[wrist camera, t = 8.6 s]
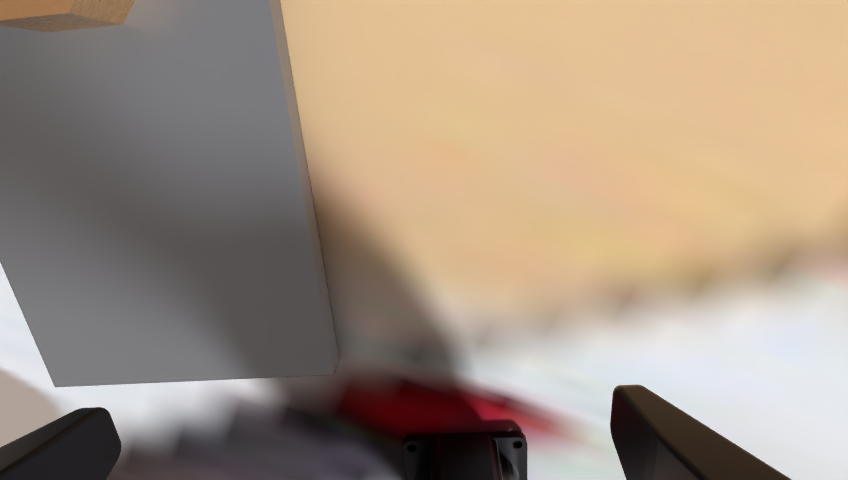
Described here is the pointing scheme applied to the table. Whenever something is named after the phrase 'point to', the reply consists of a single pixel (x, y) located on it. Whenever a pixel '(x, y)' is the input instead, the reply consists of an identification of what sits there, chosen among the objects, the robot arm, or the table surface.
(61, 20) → the ring
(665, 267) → the table surface
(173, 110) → the base
